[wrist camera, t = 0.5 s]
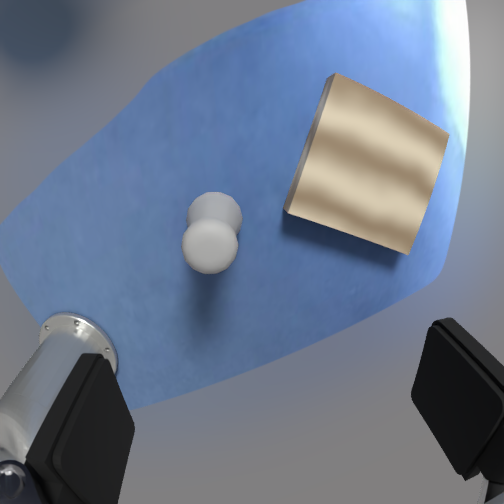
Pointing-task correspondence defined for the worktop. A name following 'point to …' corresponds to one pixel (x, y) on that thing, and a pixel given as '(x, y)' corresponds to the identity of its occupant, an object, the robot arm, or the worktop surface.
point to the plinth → (367, 166)
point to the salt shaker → (211, 233)
